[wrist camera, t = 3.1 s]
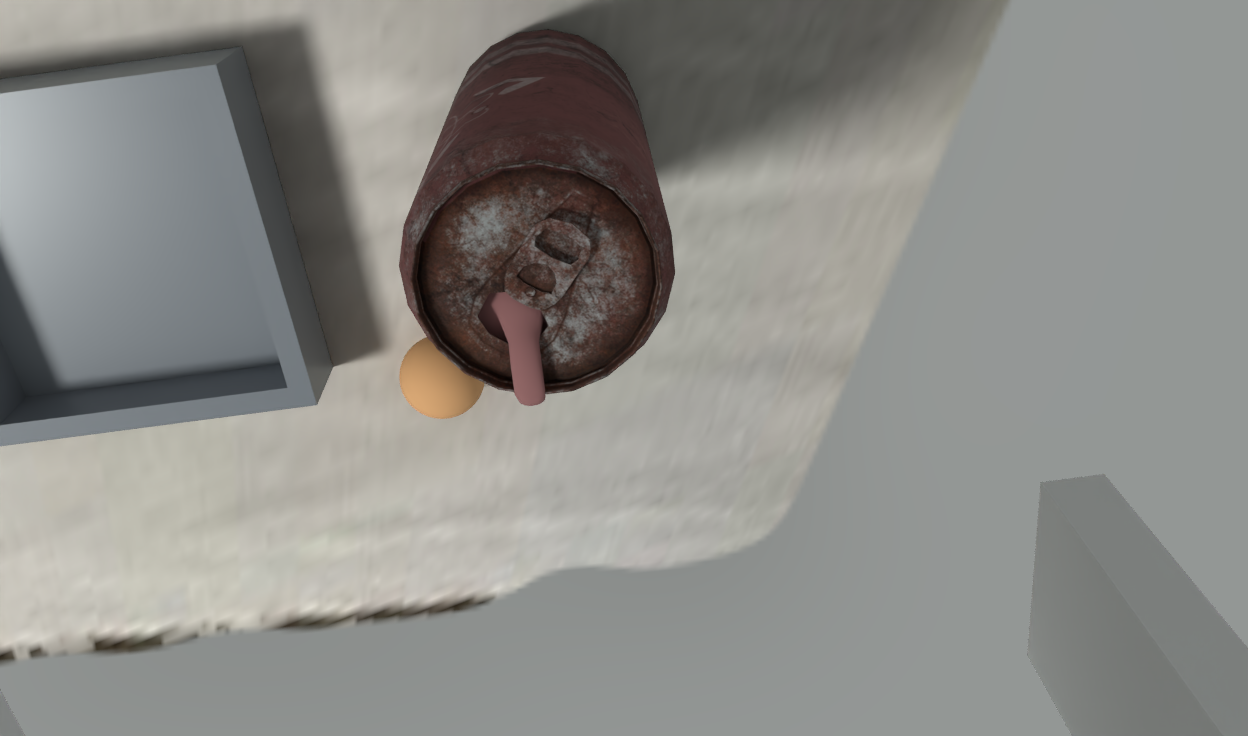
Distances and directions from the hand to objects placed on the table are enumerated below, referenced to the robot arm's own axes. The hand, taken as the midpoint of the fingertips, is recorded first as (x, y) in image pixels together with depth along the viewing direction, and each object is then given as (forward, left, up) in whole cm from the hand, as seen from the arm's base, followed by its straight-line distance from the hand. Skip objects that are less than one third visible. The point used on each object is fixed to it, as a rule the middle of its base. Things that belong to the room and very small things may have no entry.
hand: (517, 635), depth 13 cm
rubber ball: (-5, -8, -23) cm, 25 cm away
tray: (-15, -2, -25) cm, 29 cm away
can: (0, 0, -25) cm, 25 cm away
